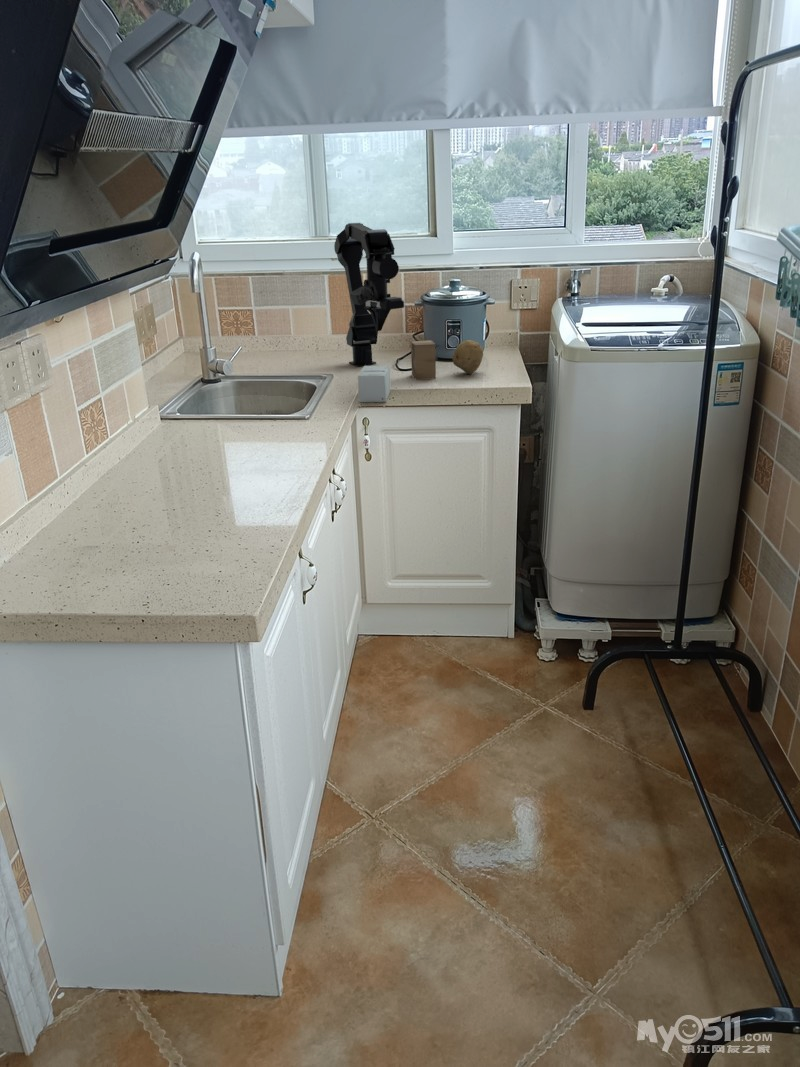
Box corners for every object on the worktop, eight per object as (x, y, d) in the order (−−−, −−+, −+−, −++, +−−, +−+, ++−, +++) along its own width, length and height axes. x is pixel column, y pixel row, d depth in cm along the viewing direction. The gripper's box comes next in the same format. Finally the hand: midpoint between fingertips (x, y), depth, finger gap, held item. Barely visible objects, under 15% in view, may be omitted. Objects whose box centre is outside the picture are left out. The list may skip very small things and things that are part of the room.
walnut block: (411, 375, 250) (411, 341, 246) (431, 373, 251) (430, 340, 247) (415, 379, 245) (415, 345, 241) (435, 378, 246) (435, 344, 242)
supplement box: (390, 364, 229) (385, 375, 218) (390, 391, 232) (386, 403, 221) (363, 364, 230) (357, 375, 219) (364, 391, 233) (358, 403, 222)
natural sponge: (451, 377, 246) (451, 343, 242) (453, 370, 254) (453, 337, 250) (482, 377, 245) (483, 343, 241) (483, 370, 253) (483, 337, 249)
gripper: (336, 275, 243) (339, 330, 249) (371, 281, 229) (374, 338, 235) (368, 272, 249) (370, 325, 255) (404, 277, 235) (405, 333, 241)
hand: (379, 330), depth 247 cm, fingers closed
